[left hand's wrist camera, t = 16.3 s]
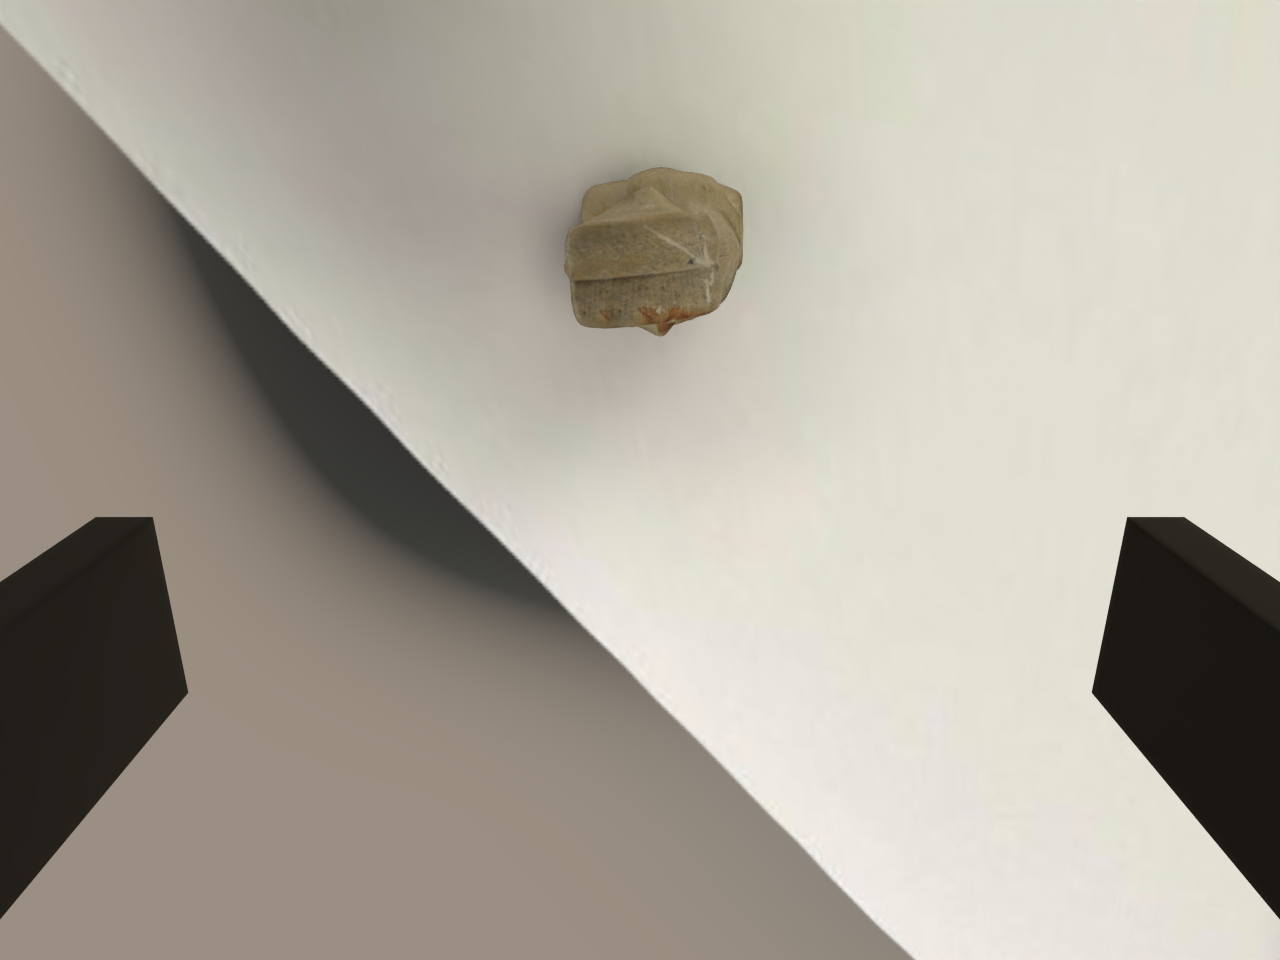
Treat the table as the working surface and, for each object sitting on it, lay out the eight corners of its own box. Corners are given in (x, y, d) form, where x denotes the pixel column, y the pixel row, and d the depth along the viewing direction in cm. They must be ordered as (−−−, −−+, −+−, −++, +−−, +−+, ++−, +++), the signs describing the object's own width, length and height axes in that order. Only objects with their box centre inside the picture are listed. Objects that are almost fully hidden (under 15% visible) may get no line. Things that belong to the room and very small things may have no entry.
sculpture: (580, 164, 41) (550, 172, 27) (738, 162, 41) (788, 169, 27) (585, 292, 43) (559, 362, 29) (735, 290, 43) (780, 359, 29)
